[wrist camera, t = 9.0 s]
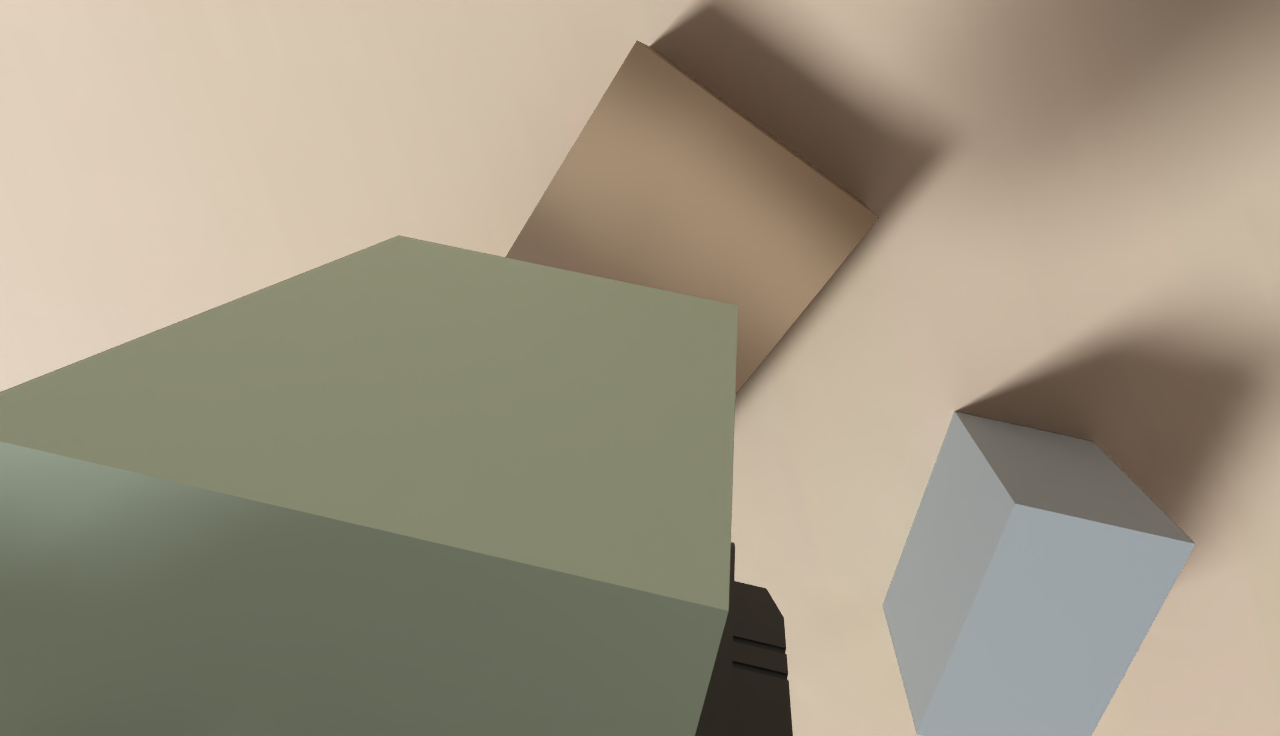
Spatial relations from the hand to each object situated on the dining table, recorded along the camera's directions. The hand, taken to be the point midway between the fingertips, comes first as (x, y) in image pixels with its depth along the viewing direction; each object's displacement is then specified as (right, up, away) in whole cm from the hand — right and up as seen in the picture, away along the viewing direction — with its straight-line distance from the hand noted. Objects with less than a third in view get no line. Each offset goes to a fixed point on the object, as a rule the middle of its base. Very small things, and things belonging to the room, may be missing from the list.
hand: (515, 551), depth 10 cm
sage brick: (0, 0, +1) cm, 1 cm away
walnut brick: (+2, +5, +14) cm, 15 cm away
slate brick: (+14, -3, +15) cm, 21 cm away
